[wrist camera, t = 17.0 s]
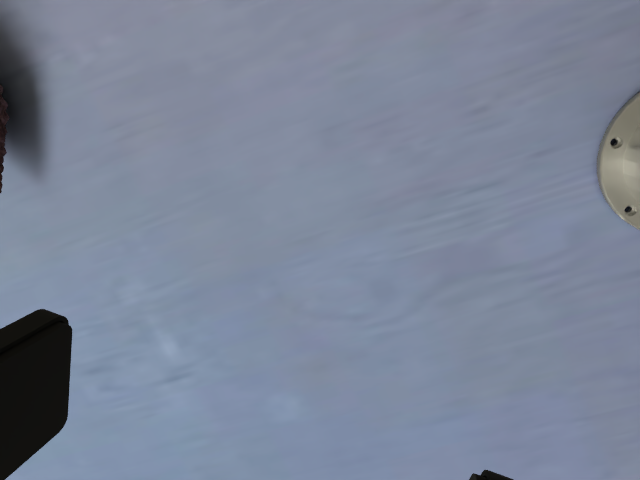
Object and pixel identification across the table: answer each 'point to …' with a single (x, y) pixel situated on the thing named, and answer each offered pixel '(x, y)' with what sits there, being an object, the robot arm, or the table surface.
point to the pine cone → (2, 132)
